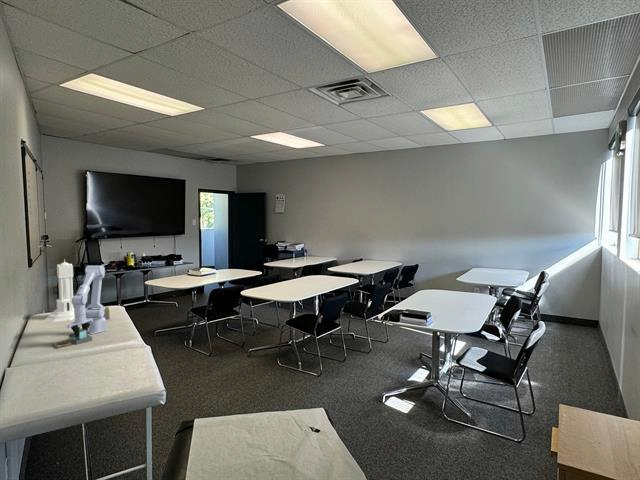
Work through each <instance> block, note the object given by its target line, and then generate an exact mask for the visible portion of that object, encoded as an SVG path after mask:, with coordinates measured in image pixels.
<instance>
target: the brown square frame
mask: <svg viewBox="0 0 640 480" xmlns="http://www.w3.org/2000/svg"><path fill="white" fill-rule="evenodd" d="M72 345H73V342H71V341H69V340H65V341H60V342H57V343H56V342H55V343H52V347H54V348H55V349H56V350H57V349H62V348H65V347H70V346H72Z"/></svg>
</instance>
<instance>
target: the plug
mask: <svg viewBox="0 0 640 480" xmlns="http://www.w3.org/2000/svg"><path fill="white" fill-rule="evenodd" d="M85 337H86V329H82V328H80V329H79V338H77V337H76V338H77V339H81V338H85Z"/></svg>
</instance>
